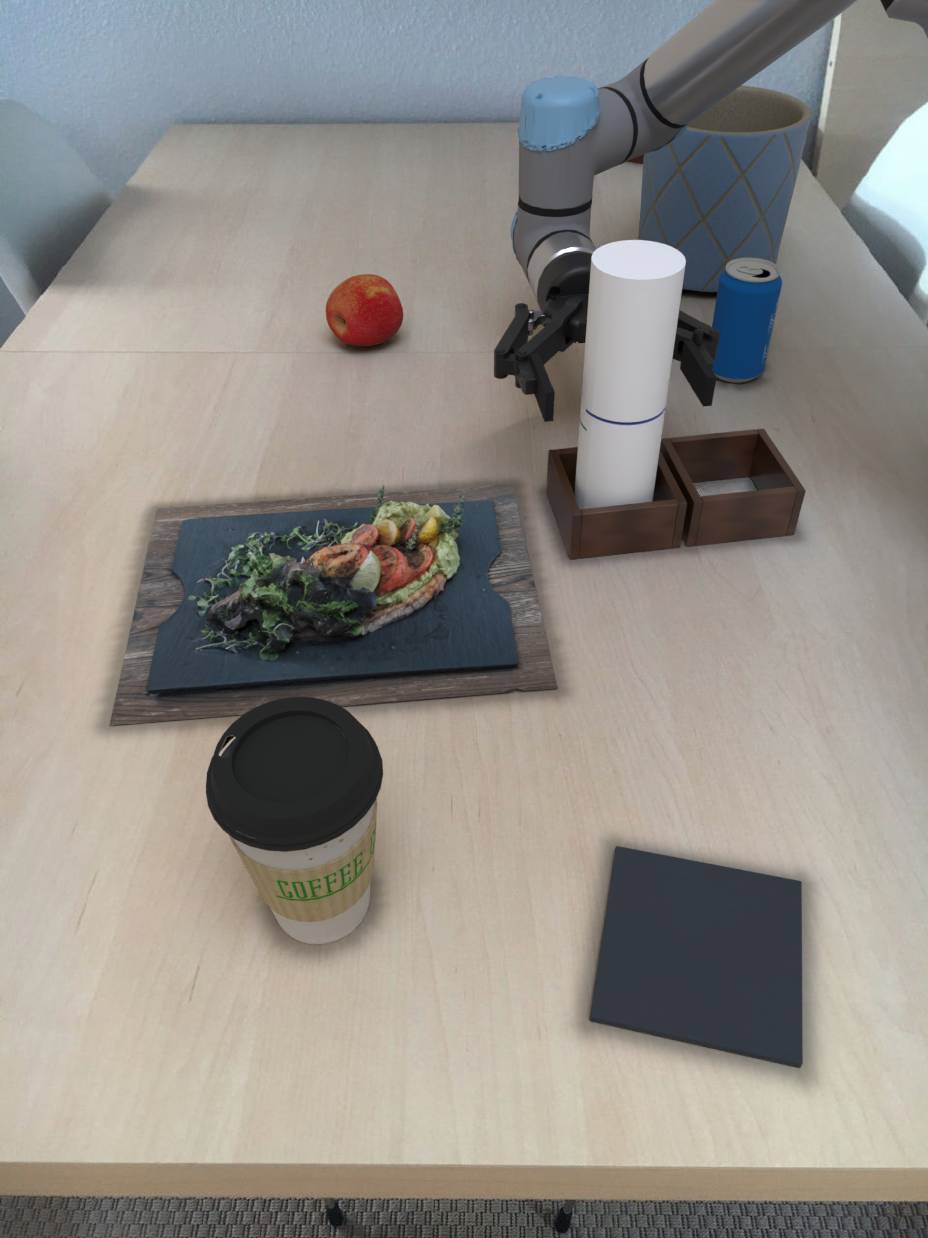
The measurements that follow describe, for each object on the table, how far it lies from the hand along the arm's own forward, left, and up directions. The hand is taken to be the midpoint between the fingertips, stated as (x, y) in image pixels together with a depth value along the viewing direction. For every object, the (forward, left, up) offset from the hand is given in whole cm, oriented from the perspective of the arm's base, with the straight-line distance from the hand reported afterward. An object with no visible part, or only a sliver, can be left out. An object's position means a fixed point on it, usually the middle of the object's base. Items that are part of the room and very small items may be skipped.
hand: (630, 399), depth 82 cm
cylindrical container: (+1, -2, -14) cm, 14 cm away
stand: (-4, -4, -14) cm, 15 cm away
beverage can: (-9, -32, -14) cm, 36 cm away
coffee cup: (+14, +42, -14) cm, 47 cm away
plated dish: (+23, +13, -14) cm, 30 cm away
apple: (+34, -30, -14) cm, 47 cm away
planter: (-4, -58, -14) cm, 60 cm away
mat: (-10, +40, -14) cm, 44 cm away
